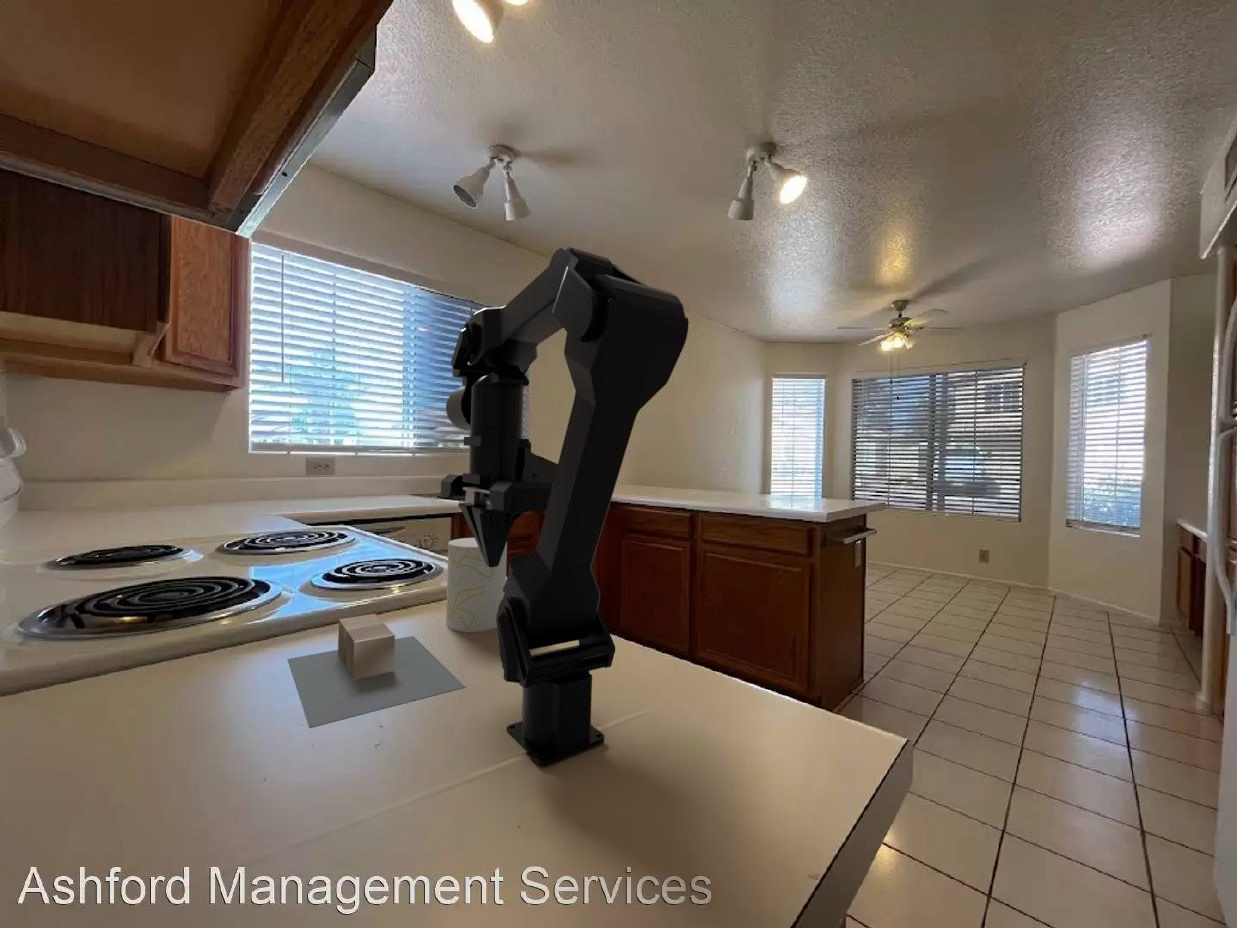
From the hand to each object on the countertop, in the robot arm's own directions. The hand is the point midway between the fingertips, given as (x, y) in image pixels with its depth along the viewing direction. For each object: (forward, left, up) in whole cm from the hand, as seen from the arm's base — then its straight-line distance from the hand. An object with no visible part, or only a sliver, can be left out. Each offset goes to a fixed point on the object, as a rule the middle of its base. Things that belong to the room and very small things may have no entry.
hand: (492, 566), depth 58 cm
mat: (+6, +11, -12) cm, 17 cm away
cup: (+16, -5, -12) cm, 21 cm away
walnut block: (+5, +11, -10) cm, 15 cm away
